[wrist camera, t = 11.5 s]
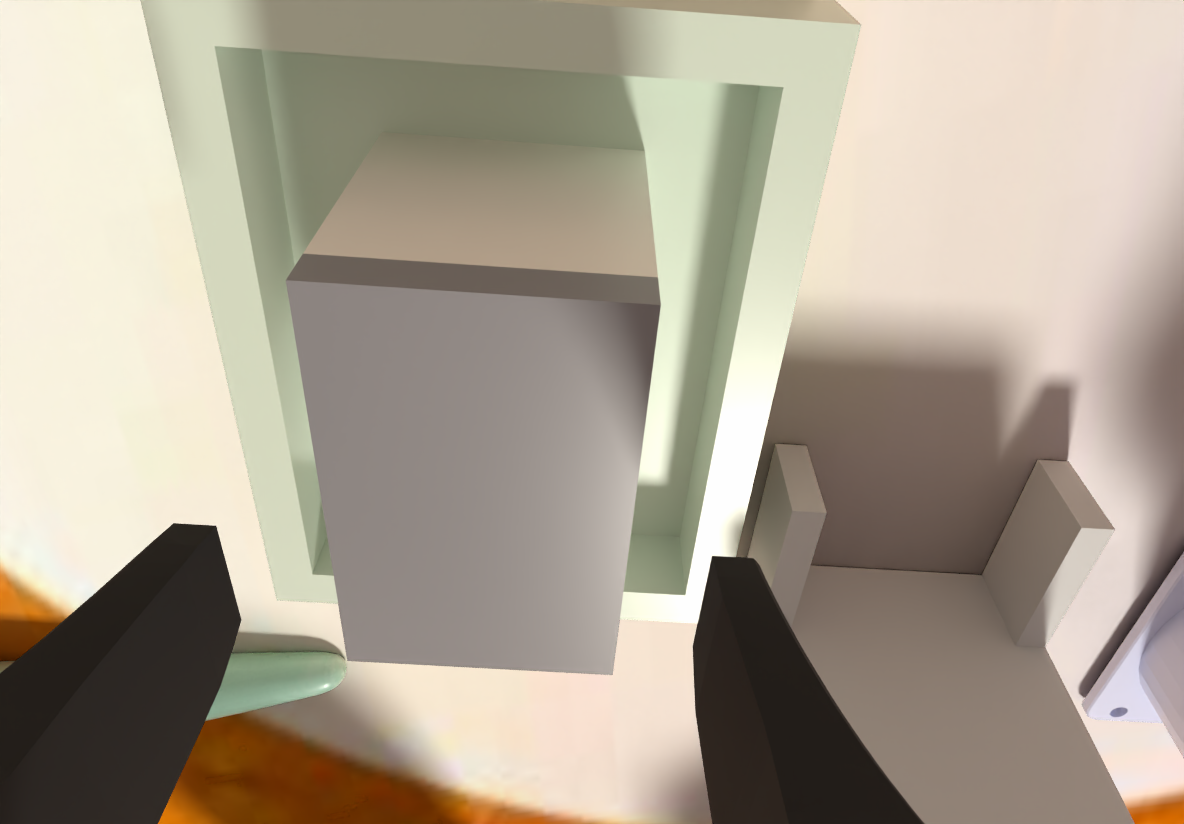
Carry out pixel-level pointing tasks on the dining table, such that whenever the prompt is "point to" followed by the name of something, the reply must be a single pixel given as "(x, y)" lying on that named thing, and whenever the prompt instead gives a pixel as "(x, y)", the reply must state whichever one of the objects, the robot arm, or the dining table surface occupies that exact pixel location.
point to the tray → (536, 115)
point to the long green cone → (271, 679)
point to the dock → (952, 653)
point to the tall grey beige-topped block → (480, 397)
